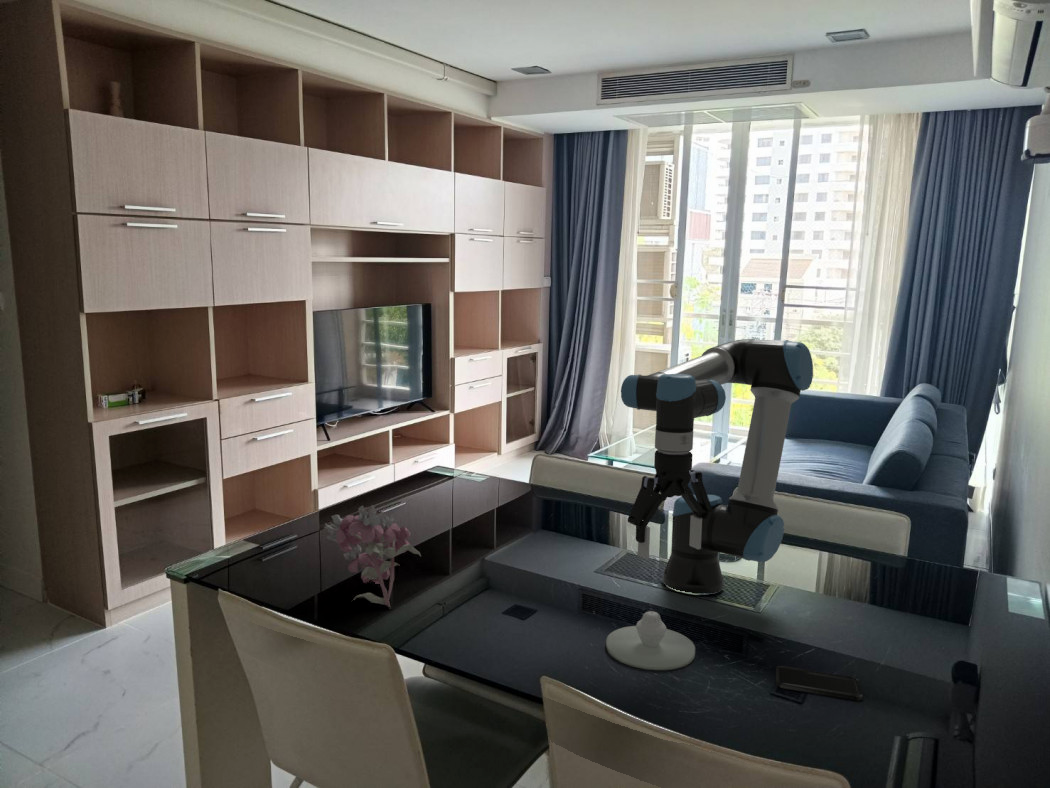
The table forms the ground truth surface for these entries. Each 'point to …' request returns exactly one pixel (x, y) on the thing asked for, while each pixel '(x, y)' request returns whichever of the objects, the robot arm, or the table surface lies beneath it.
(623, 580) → the table surface
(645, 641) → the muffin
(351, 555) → the flower
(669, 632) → the ceramic plate
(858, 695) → the phone
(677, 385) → the robot arm
